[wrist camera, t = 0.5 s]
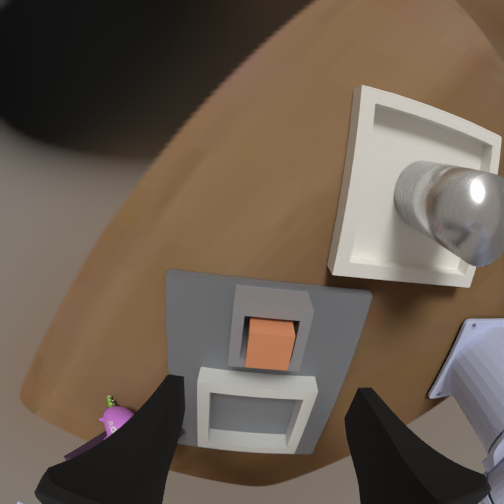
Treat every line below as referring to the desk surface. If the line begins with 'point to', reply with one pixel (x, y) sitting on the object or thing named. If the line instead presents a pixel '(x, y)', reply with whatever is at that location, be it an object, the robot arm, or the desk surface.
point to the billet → (454, 208)
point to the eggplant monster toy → (107, 426)
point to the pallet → (255, 379)
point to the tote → (383, 185)
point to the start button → (269, 343)
